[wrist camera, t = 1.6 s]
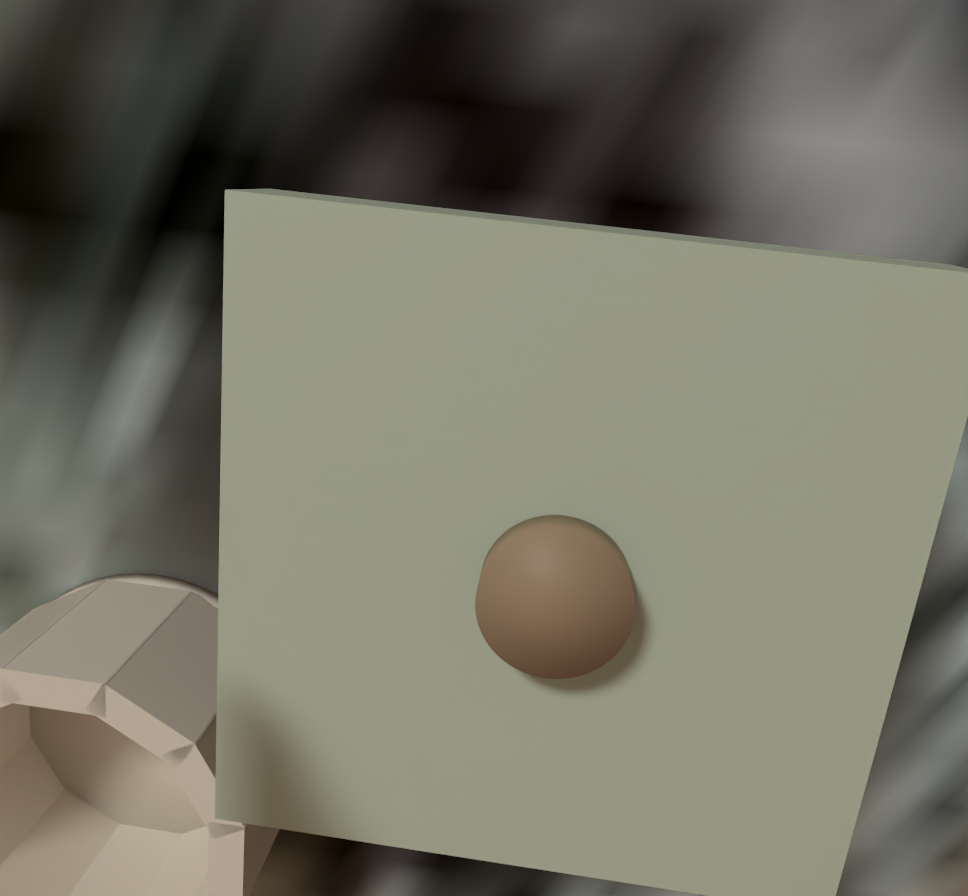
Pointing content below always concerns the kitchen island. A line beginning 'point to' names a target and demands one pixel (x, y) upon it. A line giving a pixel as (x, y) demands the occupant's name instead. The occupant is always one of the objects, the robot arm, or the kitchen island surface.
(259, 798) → the lid
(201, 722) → the bowl
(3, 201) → the kitchen island surface
